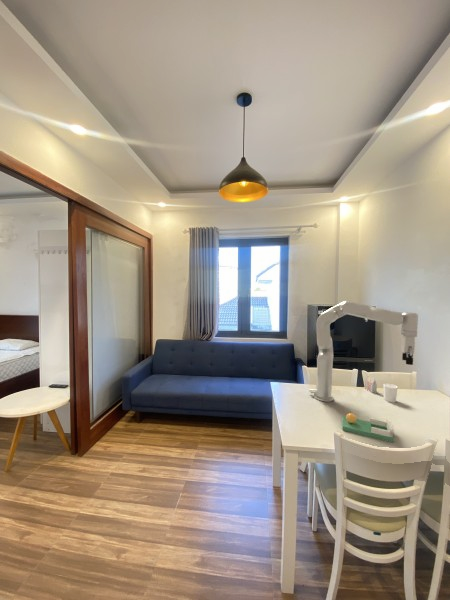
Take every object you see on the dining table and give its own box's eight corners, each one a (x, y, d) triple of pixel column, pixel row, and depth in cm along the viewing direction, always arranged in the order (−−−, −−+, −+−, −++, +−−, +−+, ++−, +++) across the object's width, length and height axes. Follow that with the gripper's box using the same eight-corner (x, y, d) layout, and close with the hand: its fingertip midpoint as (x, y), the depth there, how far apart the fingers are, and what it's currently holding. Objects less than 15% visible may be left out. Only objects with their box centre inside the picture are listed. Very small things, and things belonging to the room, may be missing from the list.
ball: (345, 423, 130) (346, 414, 130) (345, 419, 135) (346, 410, 134) (356, 426, 128) (357, 416, 128) (356, 421, 132) (356, 412, 132)
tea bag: (369, 389, 184) (370, 375, 183) (376, 392, 177) (377, 379, 176) (365, 389, 183) (365, 375, 183) (371, 392, 176) (372, 379, 176)
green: (342, 430, 128) (343, 418, 128) (342, 419, 139) (343, 408, 138) (393, 442, 118) (393, 430, 118) (389, 429, 129) (389, 418, 129)
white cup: (379, 397, 168) (380, 383, 168) (390, 397, 169) (391, 383, 169) (388, 403, 161) (389, 388, 160) (399, 402, 161) (400, 387, 161)
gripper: (398, 330, 154) (396, 357, 155) (404, 335, 138) (402, 365, 139) (413, 332, 151) (411, 359, 151) (420, 336, 135) (419, 367, 136)
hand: (407, 362), depth 145 cm, fingers open, 9 cm apart
